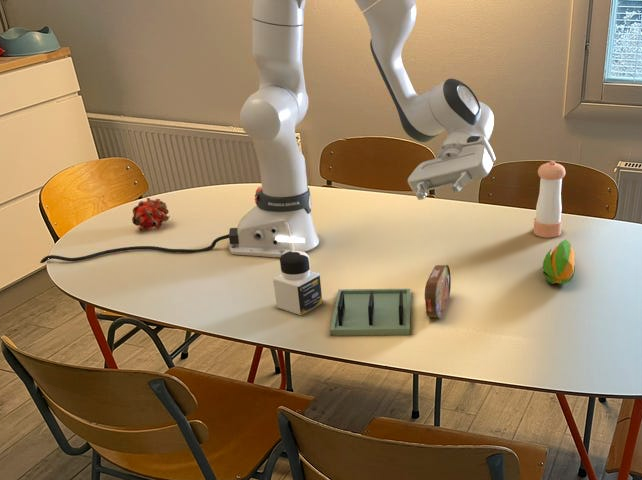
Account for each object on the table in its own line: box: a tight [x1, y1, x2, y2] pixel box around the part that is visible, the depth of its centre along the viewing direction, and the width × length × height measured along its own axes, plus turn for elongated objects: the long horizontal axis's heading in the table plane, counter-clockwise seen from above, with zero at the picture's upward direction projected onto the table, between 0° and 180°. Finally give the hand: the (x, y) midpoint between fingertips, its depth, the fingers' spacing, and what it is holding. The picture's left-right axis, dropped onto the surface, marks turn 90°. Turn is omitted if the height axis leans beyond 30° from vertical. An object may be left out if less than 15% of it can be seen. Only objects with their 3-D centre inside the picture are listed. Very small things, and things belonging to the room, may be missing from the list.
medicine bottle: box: [272, 251, 323, 316], centre depth 158 cm, size 7×7×12 cm
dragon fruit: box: [131, 197, 171, 232], centre depth 198 cm, size 8×8×12 cm
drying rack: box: [329, 288, 412, 337], centre depth 156 cm, size 16×19×5 cm
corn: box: [542, 239, 576, 286], centre depth 173 cm, size 7×8×20 cm
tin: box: [424, 264, 452, 319], centre depth 158 cm, size 15×3×8 cm, turn 168°
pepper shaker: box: [533, 160, 566, 239], centre depth 193 cm, size 7×7×19 cm
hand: (437, 193), depth 161 cm, fingers open, 8 cm apart
